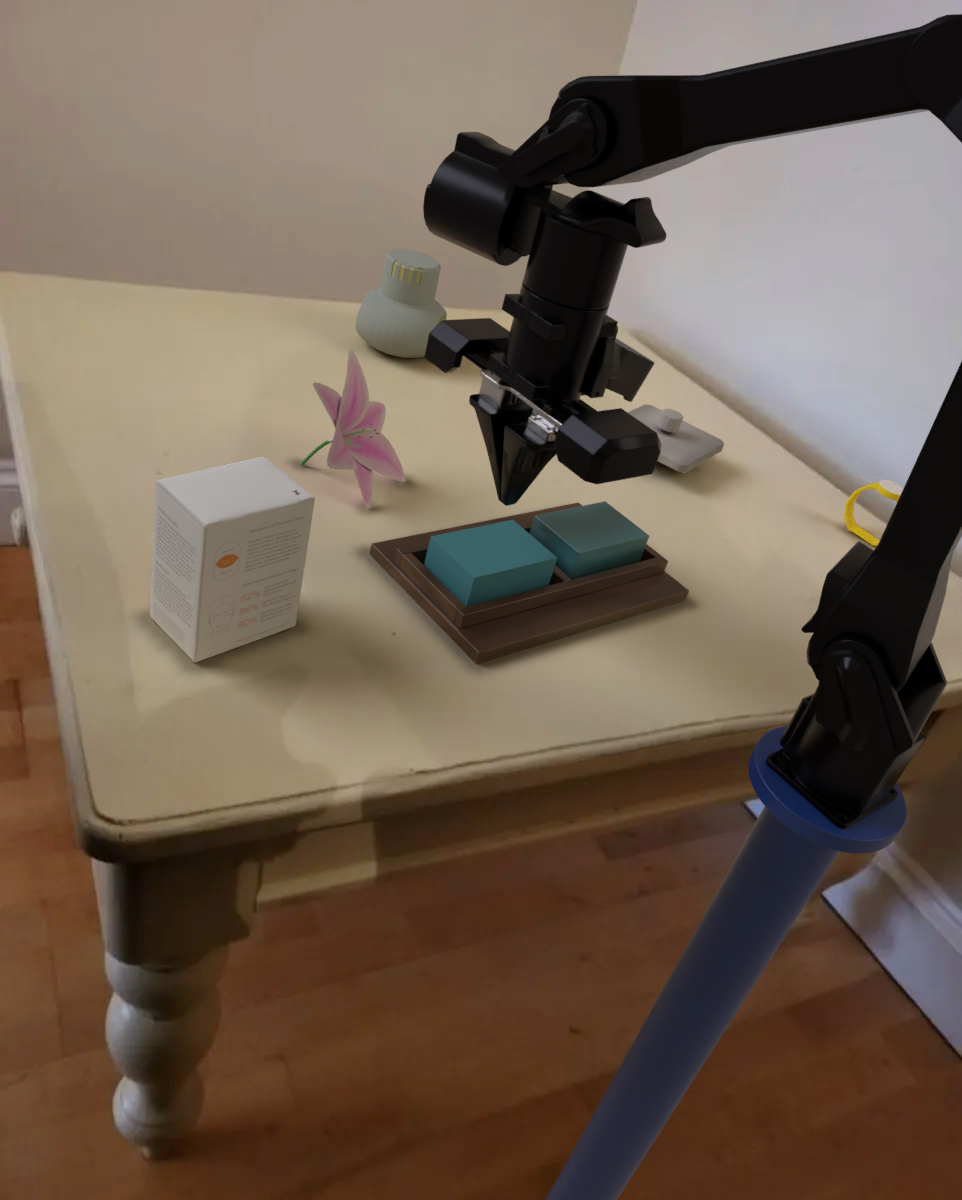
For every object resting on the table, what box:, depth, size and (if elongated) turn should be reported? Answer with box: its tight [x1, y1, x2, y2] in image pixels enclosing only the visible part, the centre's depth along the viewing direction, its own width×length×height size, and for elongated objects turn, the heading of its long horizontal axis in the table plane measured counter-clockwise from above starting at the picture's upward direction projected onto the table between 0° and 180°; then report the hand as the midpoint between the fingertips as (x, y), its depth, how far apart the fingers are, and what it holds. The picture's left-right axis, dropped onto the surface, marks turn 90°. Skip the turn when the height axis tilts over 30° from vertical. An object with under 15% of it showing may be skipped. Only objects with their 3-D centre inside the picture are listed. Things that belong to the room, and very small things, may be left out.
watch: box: [843, 479, 904, 547], centre depth 99 cm, size 6×3×6 cm, turn 46°
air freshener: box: [355, 248, 448, 359], centre depth 110 cm, size 11×8×10 cm
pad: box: [424, 520, 557, 607], centre depth 76 cm, size 6×8×3 cm
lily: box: [300, 348, 406, 510], centre depth 85 cm, size 12×12×10 cm
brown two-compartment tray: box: [369, 501, 690, 664], centre depth 80 cm, size 14×22×4 cm, turn 127°
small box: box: [149, 455, 316, 663], centre depth 65 cm, size 8×6×10 cm
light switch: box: [627, 403, 725, 473], centre depth 104 cm, size 10×10×5 cm
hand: (507, 502), depth 73 cm, fingers closed
